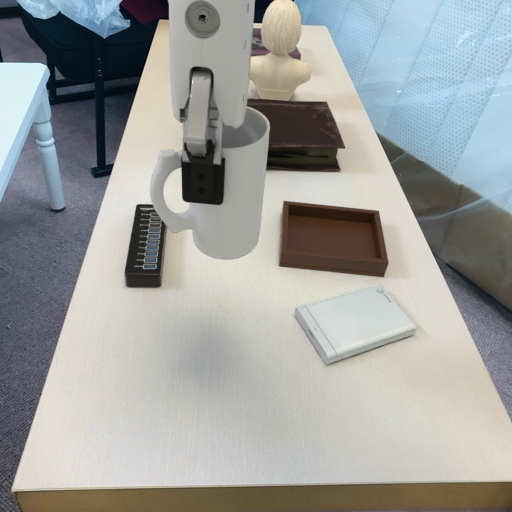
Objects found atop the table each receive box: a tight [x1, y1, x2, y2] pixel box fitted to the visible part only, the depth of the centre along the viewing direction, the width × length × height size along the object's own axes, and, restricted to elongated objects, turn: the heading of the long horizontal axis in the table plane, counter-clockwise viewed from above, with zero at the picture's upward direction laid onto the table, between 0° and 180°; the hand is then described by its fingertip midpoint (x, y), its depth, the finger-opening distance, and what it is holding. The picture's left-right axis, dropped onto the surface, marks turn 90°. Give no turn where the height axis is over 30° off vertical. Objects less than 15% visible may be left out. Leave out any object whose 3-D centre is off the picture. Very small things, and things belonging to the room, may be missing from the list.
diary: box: [247, 98, 346, 172], centre depth 91 cm, size 19×25×5 cm
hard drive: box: [293, 282, 417, 365], centre depth 62 cm, size 2×8×12 cm
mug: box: [149, 106, 270, 261], centre depth 43 cm, size 10×7×12 cm, turn 117°
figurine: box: [250, 0, 312, 101], centre depth 99 cm, size 14×9×20 cm
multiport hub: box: [123, 203, 168, 288], centre depth 69 cm, size 4×14×2 cm, turn 4°
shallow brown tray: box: [278, 200, 389, 278], centre depth 73 cm, size 12×14×3 cm
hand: (208, 173), depth 43 cm, fingers closed on mug, 6 cm apart
